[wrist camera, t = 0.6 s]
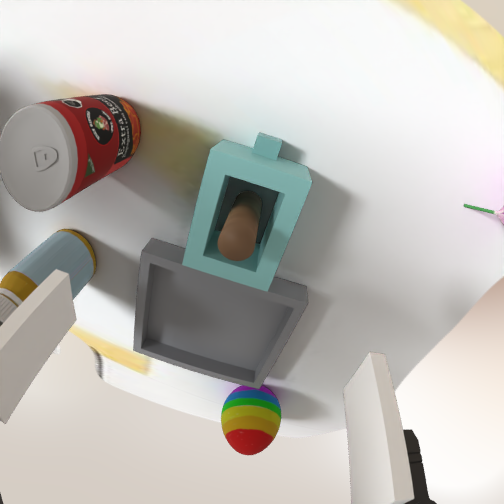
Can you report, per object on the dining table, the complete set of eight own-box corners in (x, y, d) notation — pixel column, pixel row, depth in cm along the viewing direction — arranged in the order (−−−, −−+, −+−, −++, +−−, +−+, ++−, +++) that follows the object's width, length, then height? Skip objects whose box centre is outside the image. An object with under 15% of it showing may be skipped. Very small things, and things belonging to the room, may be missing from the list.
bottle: (85, 221, 30) (-5, 302, 17) (107, 275, 33) (39, 367, 20) (46, 231, 31) (-35, 303, 18) (67, 280, 34) (1, 359, 21)
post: (231, 212, 28) (213, 254, 21) (238, 187, 27) (222, 222, 20) (257, 220, 28) (248, 265, 21) (265, 195, 27) (259, 234, 20)
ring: (196, 238, 30) (182, 264, 25) (228, 123, 24) (216, 129, 20) (269, 261, 30) (267, 291, 26) (312, 150, 25) (320, 162, 20)
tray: (140, 335, 37) (133, 350, 35) (152, 237, 30) (141, 251, 28) (260, 372, 38) (259, 389, 36) (306, 286, 31) (308, 303, 29)
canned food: (155, 152, 26) (89, 189, 16) (92, 182, 28) (21, 227, 18) (127, 79, 23) (48, 80, 13) (66, 117, 24) (-14, 139, 15)
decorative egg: (236, 410, 44) (228, 464, 35) (217, 380, 40) (204, 441, 32) (287, 405, 42) (285, 462, 33) (274, 374, 39) (270, 439, 30)
